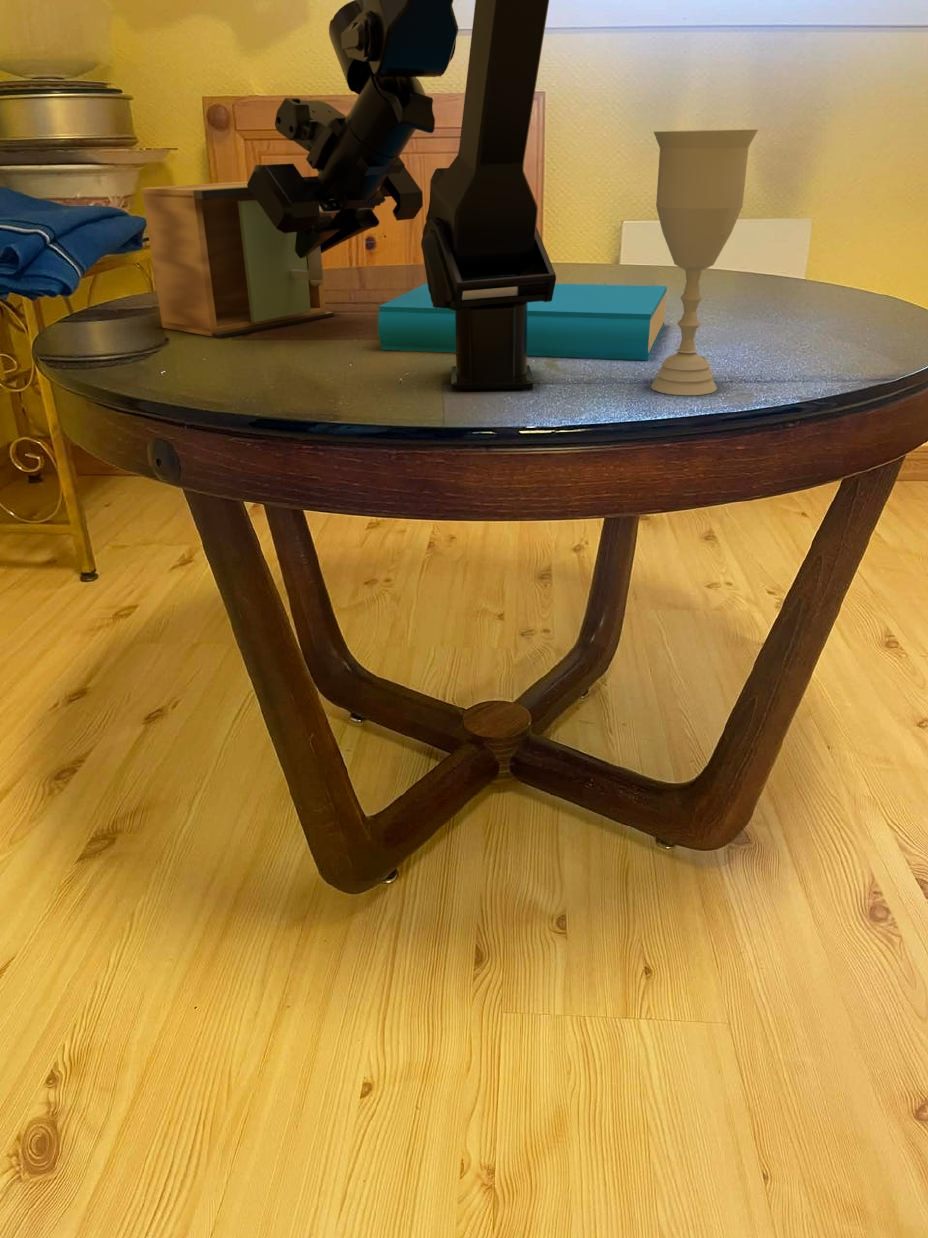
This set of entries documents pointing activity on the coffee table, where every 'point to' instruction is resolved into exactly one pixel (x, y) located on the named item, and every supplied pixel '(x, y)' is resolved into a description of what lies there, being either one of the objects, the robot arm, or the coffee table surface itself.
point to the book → (543, 322)
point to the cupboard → (206, 261)
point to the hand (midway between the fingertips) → (305, 253)
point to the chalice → (697, 230)
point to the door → (275, 267)
